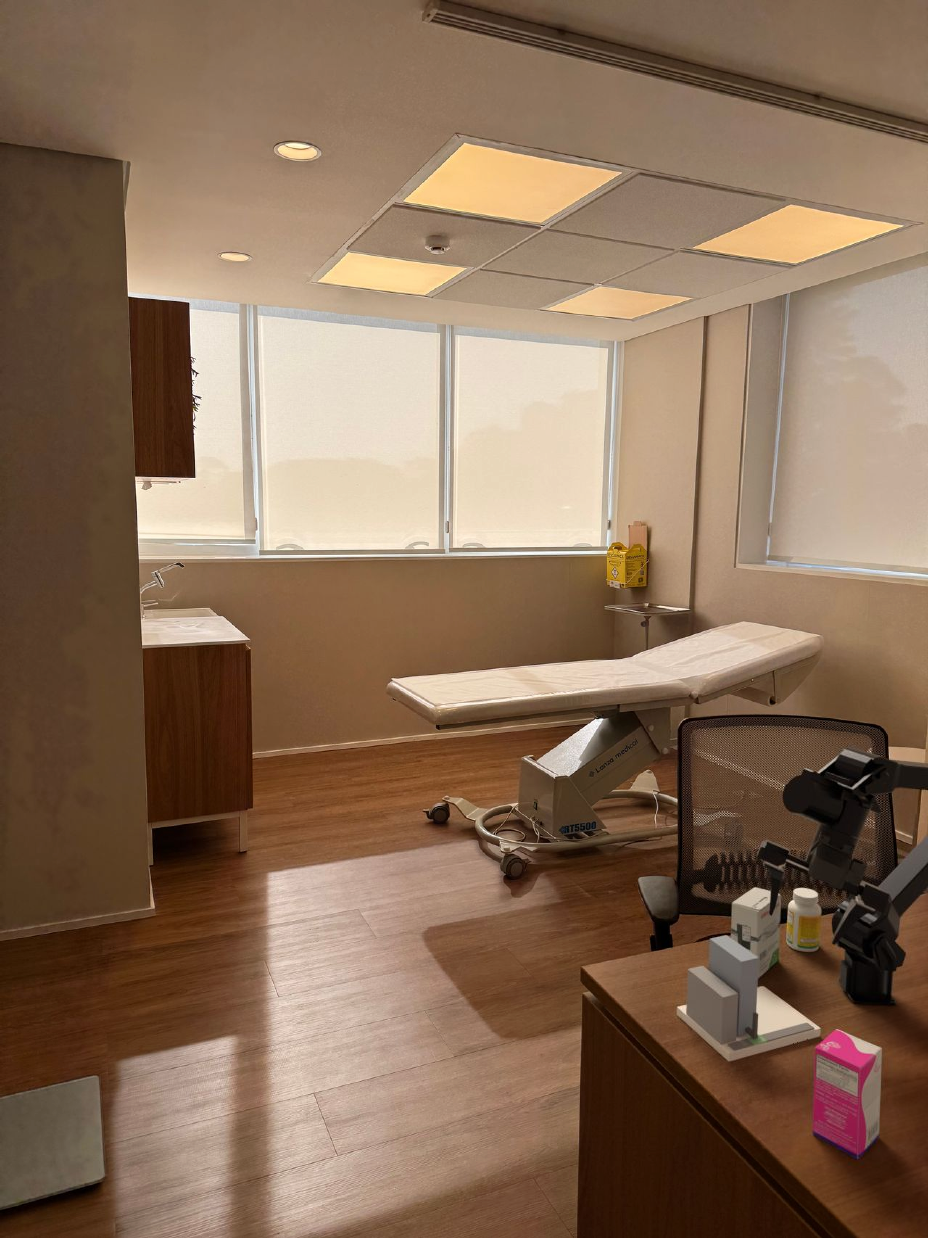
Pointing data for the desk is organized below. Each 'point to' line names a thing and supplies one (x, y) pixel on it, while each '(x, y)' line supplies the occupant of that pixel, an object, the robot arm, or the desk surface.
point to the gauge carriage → (737, 979)
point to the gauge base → (766, 1024)
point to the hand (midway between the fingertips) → (801, 929)
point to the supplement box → (847, 1092)
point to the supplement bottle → (804, 921)
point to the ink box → (757, 926)
